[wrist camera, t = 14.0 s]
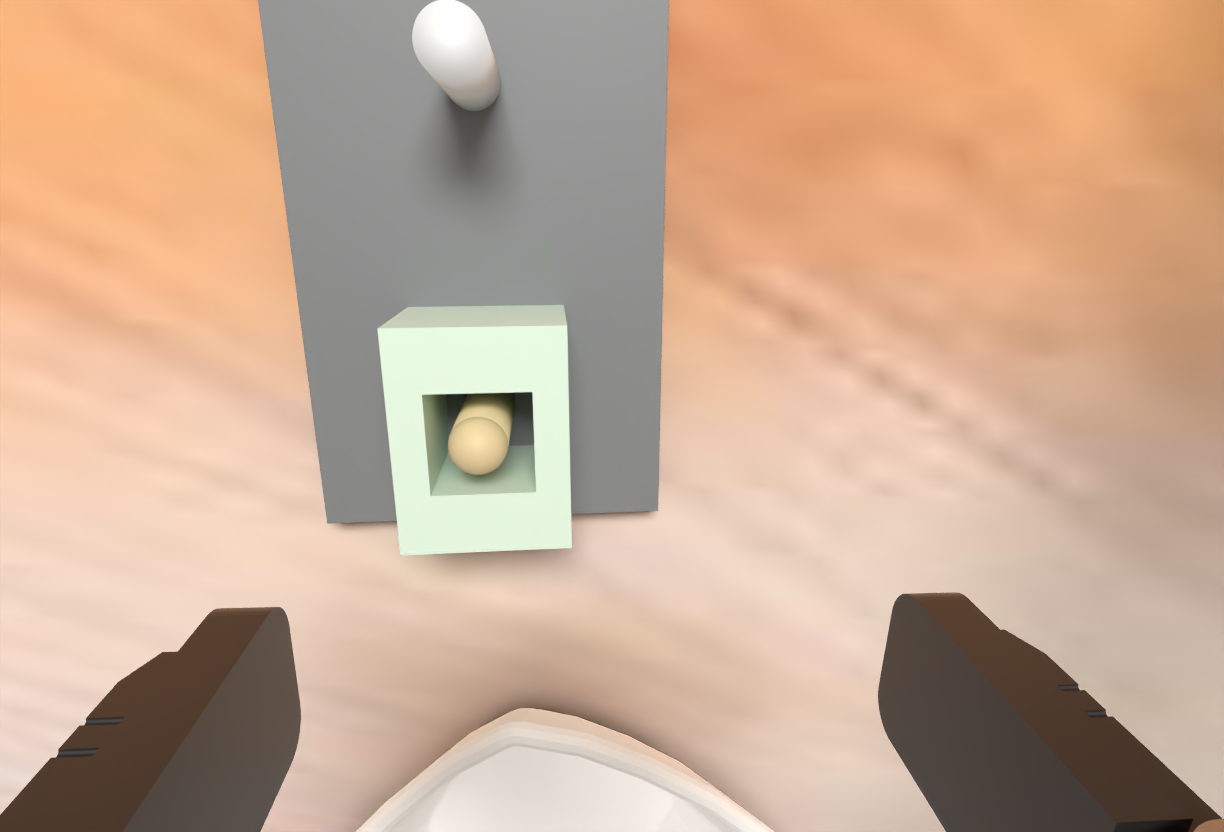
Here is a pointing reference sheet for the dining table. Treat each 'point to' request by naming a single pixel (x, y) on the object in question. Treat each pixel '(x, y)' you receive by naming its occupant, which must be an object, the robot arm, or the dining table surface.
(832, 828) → the dining table surface
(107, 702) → the robot arm
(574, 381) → the board
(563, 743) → the bowl
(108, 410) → the dining table surface
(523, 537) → the collar
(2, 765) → the dining table surface
